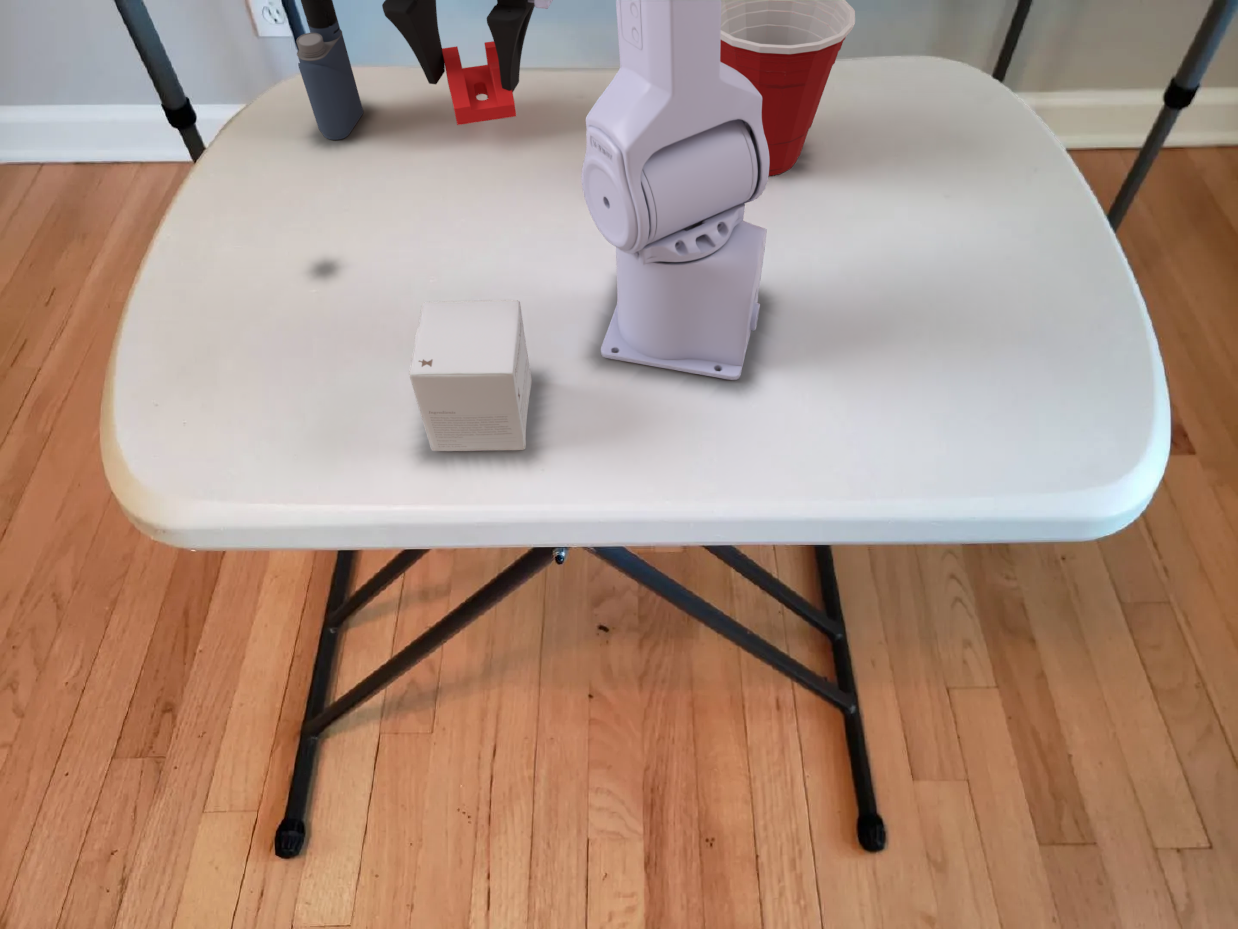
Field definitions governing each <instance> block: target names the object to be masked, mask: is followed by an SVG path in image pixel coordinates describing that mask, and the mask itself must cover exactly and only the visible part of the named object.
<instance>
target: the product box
mask: <svg viewBox="0 0 1238 929" xmlns="http://www.w3.org/2000/svg"><path fill="white" fill-rule="evenodd" d="M530 366H531V365H530V361H529V353H528V348H527V342H526V334H525V328H524V321H523V314H522V306H521V301H520V300H518V299H513V300H512V299H508V300H507V299H500V300H499V299H494V300H493V299H492V300H490V299H489V300H463V301H462V300H455V301H453V300H451V301H423V302H422V304H421V310H420V314H419V320H418V325H417V330H416V333H415V337H414V346H413V349H412V355H411V360H410V366H409V370H408V376H409V380H410V383H411V387H412V390H413V393H414V397H415V399H416V400H415V401H416V405H417V406H418V411H419V414H420V417H421V420H422V423H423V428H424V431H425V433H426V438H427V440H428V444H429V447H430V450H431V451H433V452H474V451H523V450H524V451H525V449H526V446H527V422H528V421H527V420H528V411H529V404H530V396H531V388H532V383H533V381H532V380H533V378H532V373H531V367H530Z"/></svg>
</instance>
